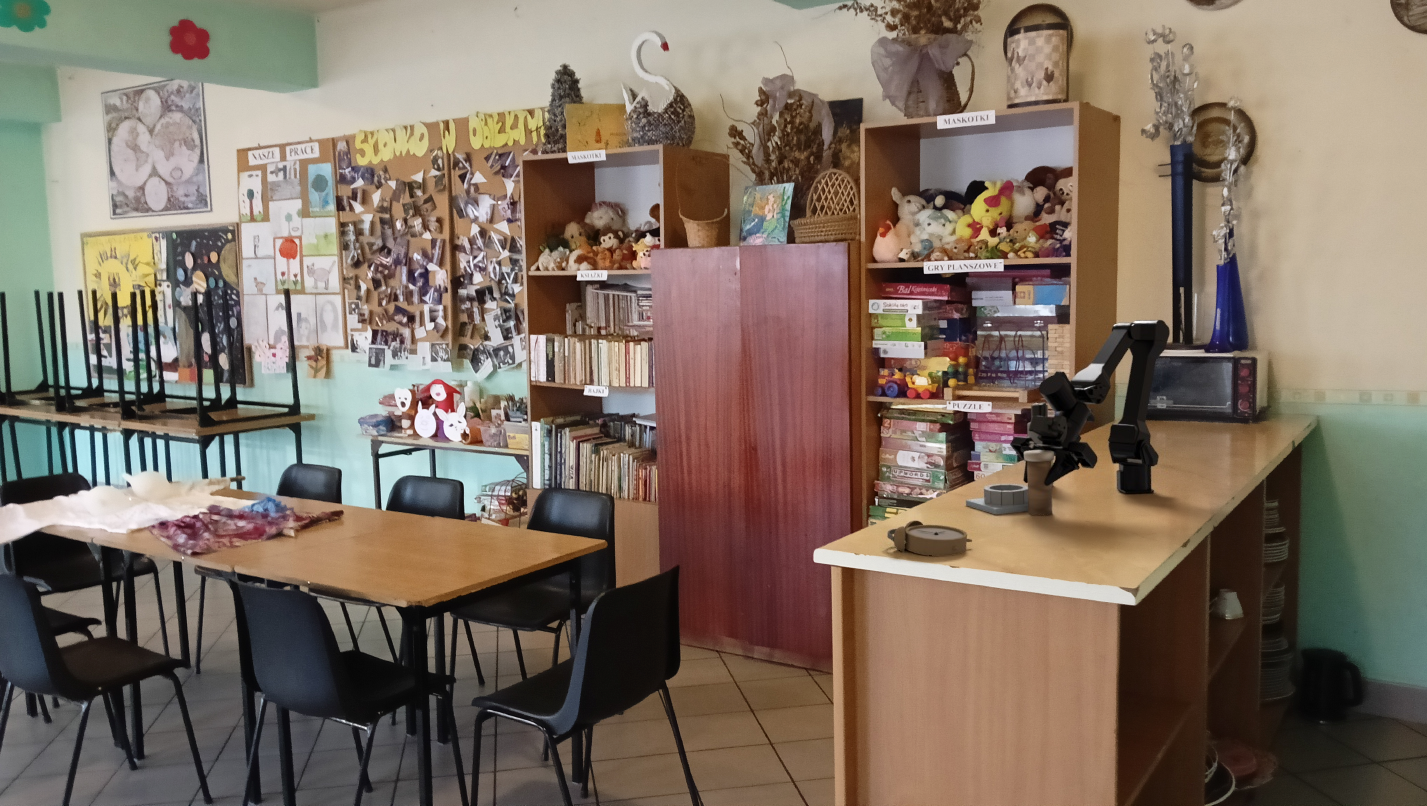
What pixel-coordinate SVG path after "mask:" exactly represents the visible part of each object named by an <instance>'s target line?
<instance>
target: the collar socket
mask: <svg viewBox="0 0 1427 806" xmlns="http://www.w3.org/2000/svg"><path fill="white" fill-rule="evenodd" d="M965 506H967V507H970V508H974V509H977V510H979V511H981V512H982V511H983V512H986V513H990V514H993V515H995V516H996V515H1002V514H1010V513H1011V514H1012V513H1021V512H1028V485H1024V484H1020V483H1019V484H1016V483H998V484H996V483H995V484H989V485H986V486H983V497H982V498H974V499H973V498H971V499H966V500H965Z"/></svg>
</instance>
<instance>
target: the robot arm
mask: <svg viewBox="0 0 1427 806" xmlns="http://www.w3.org/2000/svg"><path fill="white" fill-rule="evenodd" d="M1170 331H1171V330H1170V328H1169V325H1167V323H1166V322H1165V321H1164V320H1162V319H1136V320H1135V321H1133V322H1118V323H1116V324H1113V326H1112V328H1111V333H1110V335H1109V336H1108V337H1107V339H1106V341H1105V342H1104V343H1103V345H1102V346H1101V348H1100V350H1099V351H1098V353H1097V354H1096V356H1095V357H1094V359H1093V360H1092V361H1091V363H1090V364H1089V365H1088V366H1087V367H1085V368H1084V369H1082V370H1080V371H1078V372H1077V373H1076V374H1075V375H1074V376H1073V377H1072V378H1071V380H1070V379H1069V378H1068V376H1067V374H1066V372H1065V371H1055V372H1054V374H1052V375H1050V376H1048V377H1046V378H1045V379H1044V380H1043V381H1041V382H1040V384H1039V386H1038V391H1039V393H1040V395H1041V396H1042V397H1043V399H1044V400H1045V401H1046V403H1047V405H1048V406H1050V408H1051V409H1052V410H1053V412H1054V411H1055V412H1058V414H1057V415H1054V416H1053V417H1049V416H1048V417H1044V416H1032V417H1031V419H1030V422H1029V423H1030V426H1029V431H1033V432H1034V433H1036V434H1038V437H1037V438H1038V439H1039V440H1040V441H1042V442H1043V443H1042V444H1036V443H1035V442H1034V441H1033V440H1032V438H1031V437H1028V436H1021V435H1018V436H1014V437H1013V439H1012V440H1011V442H1010V444H1009V446H1010V447H1011V448H1012V450H1014V452H1015V453H1016V455H1017V456H1018V457H1019V459H1021V460H1022V461H1024V462H1025V463H1024V464H1025V465H1024V472H1023V477H1022V478H1023V482H1024V484H1028V475H1027V461H1026V460H1024V452H1025V451H1031V450H1049V451H1053V452H1054V460H1053V465H1052V467H1051V469H1050V471H1049V473H1048V475H1047V477H1046V479H1045V482H1044V484H1045V485H1046V486H1049V485H1050V484H1052V483H1055V482H1056V481H1058V480H1060V479H1062V478H1063V477H1064V476H1066V475H1068V474H1071V473H1072V472H1074V471H1075V470H1077V471H1078V470H1079V469H1080V468H1081V467H1082V468H1085V469H1094V468H1095V467H1096V464H1097V463H1098V455H1097V454H1096V452H1095V451H1094V450H1093V449H1092V447H1091V445H1090V444H1089V443H1088V442H1086V441H1085V442H1084V441H1081V440H1082V436H1081V435H1080V433H1081V431H1082V430H1083V428H1084V426H1085V424H1086V422H1089V423H1090V422H1091V423H1094V422H1095V420H1096V419H1095V415H1094V412H1093V409H1091V408H1090V407H1088V405H1101V404H1102V403H1103V402H1104V401H1105V400H1106V398H1107V397H1108V394H1109V392H1110V389H1111V387H1112V386H1111V381H1110V380H1111V377H1112V375H1113V374H1114V372H1115V371H1116V369H1117V367H1118V366H1119V364H1120V363H1121V362H1122V360H1123V358H1124V356H1125V355H1126V353H1127V352H1128V351H1130V353H1131V356H1132V357H1131V358H1132V359H1131V364H1130V369H1129V377H1128V383H1127V389H1126V393H1125V394H1126V395H1125V399H1124V406H1123V411H1122V416H1121V419H1120V420H1119V421H1118V422H1117V423H1112V424H1111V426H1110V428H1109V429H1110V431H1109V437H1108V439H1107V442H1108V450H1109V455H1110V458H1111V462H1112V464H1113V465H1116V464H1118V469H1117V470H1116V490H1118V491H1120V492H1122V493H1124V494H1144V493H1146V494H1148V493H1155V489H1153V488H1152V467H1156V466H1157V465H1158V463H1159V457H1160V455H1159V453H1157V451H1156V449H1155V448H1154V447H1153V445H1152V444H1151V437H1152V436H1151V432H1150V430H1149V428H1148V426H1147V423H1146V421H1147V420H1146V419H1147V413H1148V408H1149V402H1150V397H1151V390H1152V385H1153V380H1154V379H1153V378H1154V372H1155V366H1156V362H1157V359H1158V358H1159V357H1160V356H1161V355H1162V354H1163V352H1164V351H1165V350H1166V349H1167V343H1168V340H1169V337H1170V335H1171V332H1170ZM1087 404H1088V405H1087Z"/></svg>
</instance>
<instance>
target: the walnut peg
mask: <svg viewBox="0 0 1427 806" xmlns="http://www.w3.org/2000/svg"><path fill="white" fill-rule="evenodd" d="M1024 460H1026V461H1027V475H1028V483H1027V486H1028V511H1027V513H1028V514H1029V515H1031V516H1038V517H1039V516H1040V517H1046V516H1051V515H1053V488H1052V487H1053V486H1052V484H1050V485H1049V486H1046V485H1045V484H1044V482H1045V479H1046V477H1047V475H1048V473H1049V471H1050V469H1051V460H1053V461H1055V456H1054V452H1053V451H1049V450H1031V451H1025V452H1024ZM1024 460H1023V461H1024Z"/></svg>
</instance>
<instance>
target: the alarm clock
mask: <svg viewBox="0 0 1427 806" xmlns="http://www.w3.org/2000/svg"><path fill="white" fill-rule="evenodd" d="M887 539H888V540H891V541H892V542H893V544H894V547H895V549H896V550H897V551H899V550H900V551H899V552H902V551H904V552H905V549H906V550H908V552H909V551H910V552H911V553H915V554H919V555H923V556H929V555H932V556H931V557H948V556H955V555H960V554H963V553H964V552H966V551H967V543H972V542H973V540H972V539H971V538H968V534H967V532H966V531H964V530H963V529H960V528H957V527H954V526H947V525H940V524H923V522H922V521H919V520H911V521H909V522H908V523H906V524H905V526H904V525H903V526H899V527H897V528H892V529H889V530H888V531H887Z"/></svg>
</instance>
